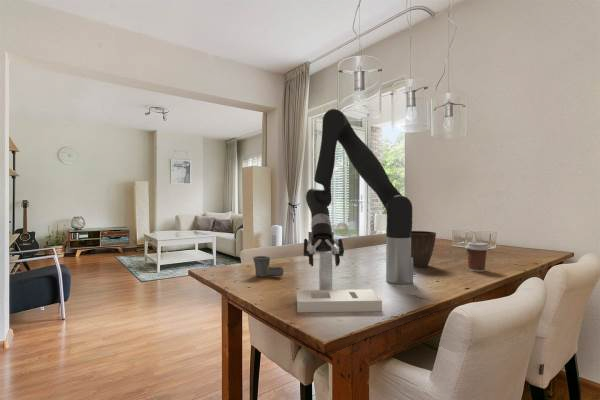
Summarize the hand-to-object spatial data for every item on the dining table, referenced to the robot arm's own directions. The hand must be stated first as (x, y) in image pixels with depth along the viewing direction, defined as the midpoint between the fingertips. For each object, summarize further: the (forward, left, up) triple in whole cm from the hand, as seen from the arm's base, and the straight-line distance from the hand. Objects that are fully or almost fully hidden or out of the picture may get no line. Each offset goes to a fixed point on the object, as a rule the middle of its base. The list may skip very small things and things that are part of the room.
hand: (324, 265), depth 107 cm
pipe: (+21, -23, -9) cm, 32 cm away
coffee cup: (-72, -31, -9) cm, 79 cm away
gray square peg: (0, +1, -9) cm, 9 cm away
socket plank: (-2, +13, -9) cm, 16 cm away
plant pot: (-50, -41, -9) cm, 65 cm away
